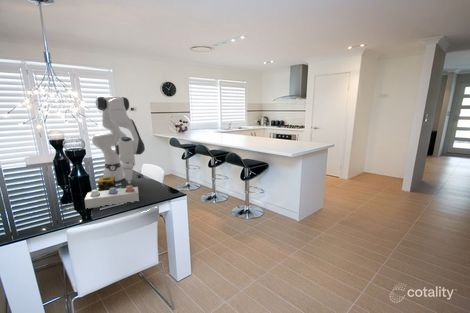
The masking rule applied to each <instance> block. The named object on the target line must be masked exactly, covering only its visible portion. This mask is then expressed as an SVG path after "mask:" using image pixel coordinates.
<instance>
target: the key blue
mask: <svg viewBox="0 0 470 313" xmlns="http://www.w3.org/2000/svg"><path fill="white" fill-rule="evenodd" d="M116 189H117V187H116V188H110V189H109V192H110V194H117V192H116Z"/></svg>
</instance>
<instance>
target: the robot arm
mask: <svg viewBox="0 0 470 313" xmlns="http://www.w3.org/2000/svg"><path fill="white" fill-rule="evenodd" d="M95 107H96V108H97V109H98V111H102V119H101V120H102V127H103V128H105V129H106V130H108V131H110V132H105V133H104V132H101V133H98V134H94V135H93V137H92V139H91V140H92V144H93V146H95V147H96V148H98V149H99V150H100V151H101V152H102V153H103V154H102V155H103V158H104V169H103V170H102V171H103V177H113V176H115V182H118V181H121V180H124V179H125V181H127V184H129V185H130V184H131V183H132V180H133V170H134V166H135V165H136V159H135V158H136V157H135V155H142V154H143V153H144V152H145V144H144V142H143V139H142V137H141V135H140V132H139V130H138V128H137V125H136V124H135V122H134V120H133V119H132V118H130V116H128V114H127V111H129V108H130V100H129V99H128V97H124V96H122V97H121V96H118V95H116V96H115V95H104V96H103V95H98V96H97V97H96V99H95ZM121 128H123V129H127V130H129V132H130V133H131V136H132V137H128V135H127V134H125V132H123V131H122V130H121ZM112 147H114V149H112Z"/></svg>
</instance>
